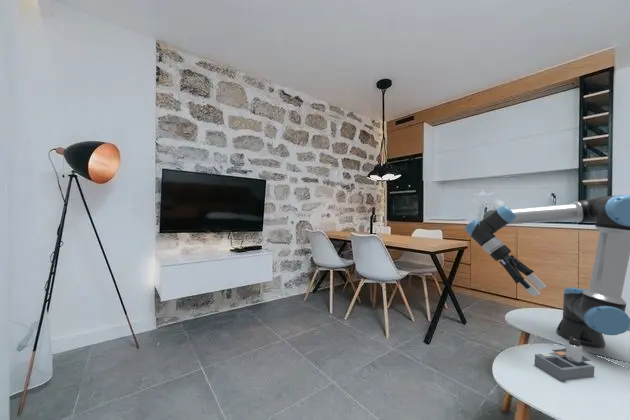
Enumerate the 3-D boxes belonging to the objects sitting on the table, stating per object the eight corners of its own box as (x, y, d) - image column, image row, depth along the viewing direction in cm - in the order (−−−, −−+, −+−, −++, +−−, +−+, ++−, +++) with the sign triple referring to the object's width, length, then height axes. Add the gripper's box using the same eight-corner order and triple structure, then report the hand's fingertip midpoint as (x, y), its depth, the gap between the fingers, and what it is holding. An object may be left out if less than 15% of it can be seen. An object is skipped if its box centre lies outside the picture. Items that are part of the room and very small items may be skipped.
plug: (570, 367, 93) (572, 335, 93) (584, 374, 89) (586, 341, 89) (561, 368, 92) (563, 336, 92) (575, 375, 88) (577, 342, 88)
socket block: (563, 361, 97) (564, 350, 97) (593, 377, 88) (594, 365, 88) (534, 364, 94) (535, 353, 94) (562, 381, 85) (563, 368, 85)
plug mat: (566, 349, 105) (567, 348, 105) (591, 361, 97) (591, 360, 97) (551, 351, 104) (551, 350, 104) (574, 363, 96) (575, 362, 96)
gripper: (497, 251, 124) (537, 290, 112) (480, 257, 107) (524, 303, 96) (511, 241, 120) (554, 280, 108) (495, 246, 103) (543, 293, 92)
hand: (540, 291), depth 102 cm, fingers open, 13 cm apart
